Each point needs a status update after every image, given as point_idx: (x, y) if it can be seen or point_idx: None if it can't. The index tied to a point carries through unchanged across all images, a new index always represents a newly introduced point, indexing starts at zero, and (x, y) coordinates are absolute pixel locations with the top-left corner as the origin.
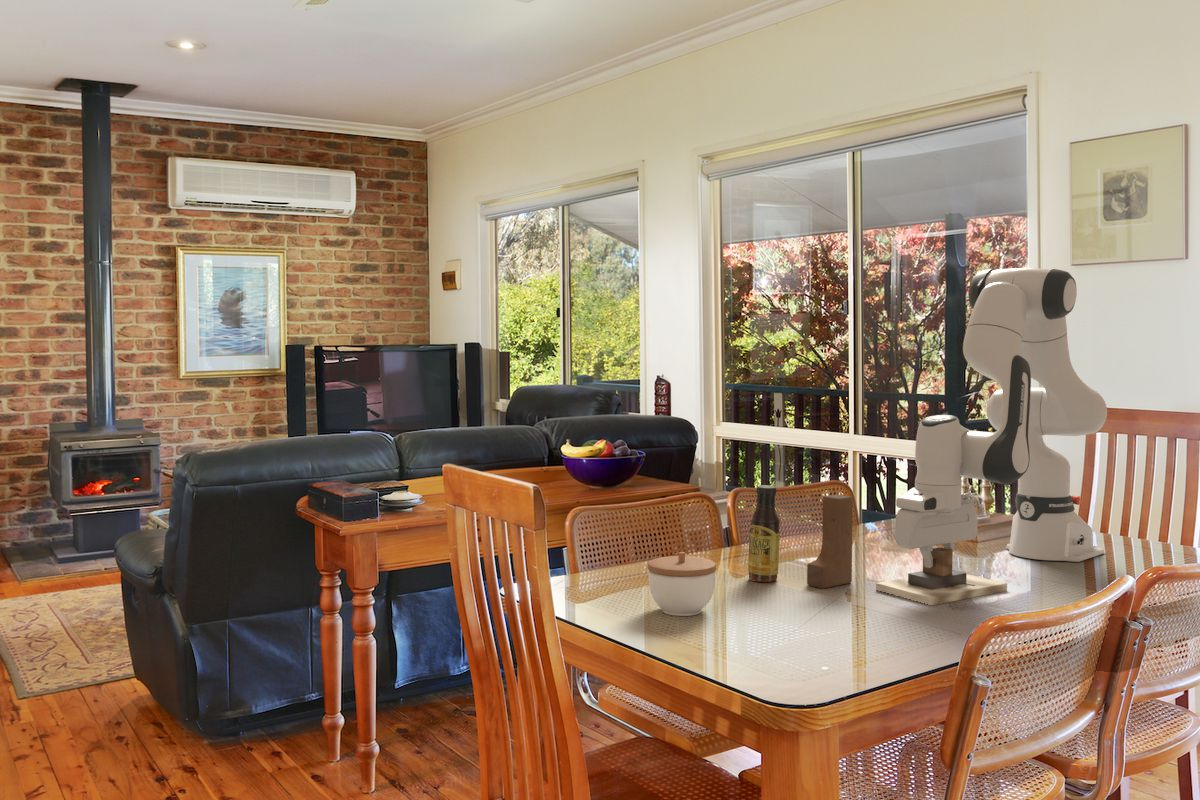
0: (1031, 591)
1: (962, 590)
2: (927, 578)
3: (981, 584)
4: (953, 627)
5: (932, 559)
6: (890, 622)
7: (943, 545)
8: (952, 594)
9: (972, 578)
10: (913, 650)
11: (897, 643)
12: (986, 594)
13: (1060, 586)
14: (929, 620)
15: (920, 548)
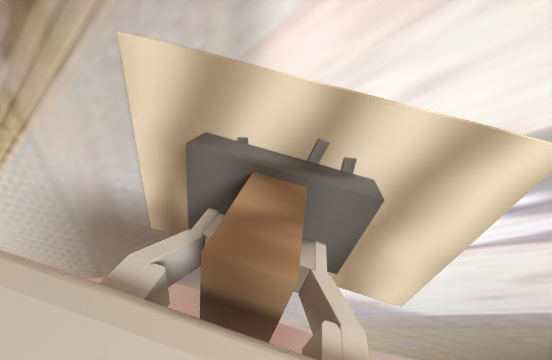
0: (416, 316)
1: None
2: (188, 215)
3: (349, 272)
4: (110, 267)
5: (200, 260)
6: (36, 204)
7: (319, 331)
8: None
9: (418, 245)
10: None
11: (9, 240)
12: None
13: (505, 348)
14: (100, 240)
15: (121, 267)
